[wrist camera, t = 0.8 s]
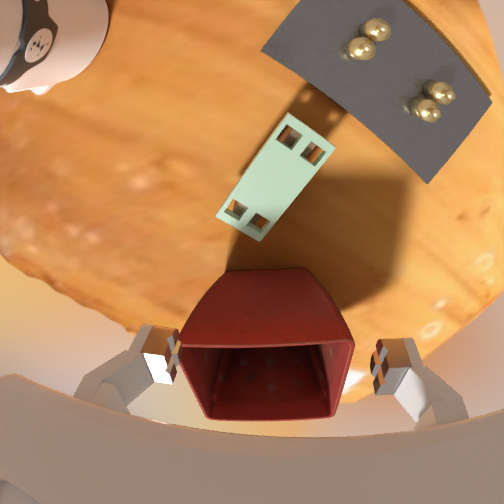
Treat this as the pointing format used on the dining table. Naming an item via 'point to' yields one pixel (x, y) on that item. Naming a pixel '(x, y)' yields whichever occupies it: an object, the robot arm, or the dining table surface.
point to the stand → (289, 139)
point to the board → (274, 178)
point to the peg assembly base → (384, 74)
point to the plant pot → (266, 348)
